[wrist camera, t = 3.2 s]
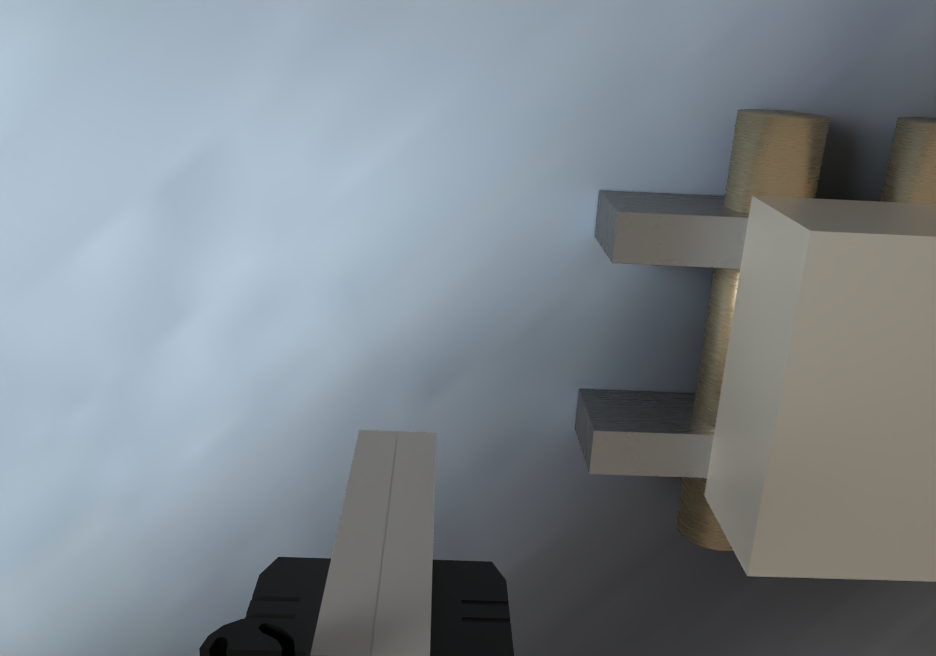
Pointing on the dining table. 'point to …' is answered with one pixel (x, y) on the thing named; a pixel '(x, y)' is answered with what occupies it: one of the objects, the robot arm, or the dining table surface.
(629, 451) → the rack with metal cylinders
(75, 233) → the dining table surface
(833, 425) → the paver
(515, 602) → the dining table surface
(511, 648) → the robot arm
